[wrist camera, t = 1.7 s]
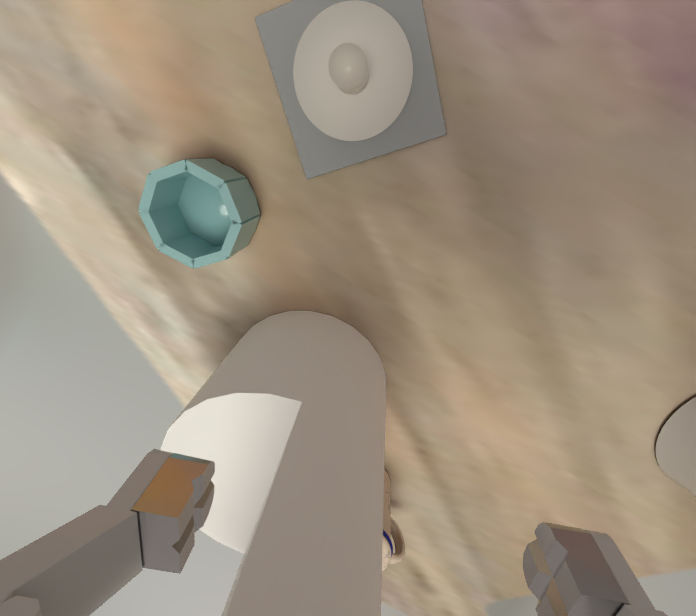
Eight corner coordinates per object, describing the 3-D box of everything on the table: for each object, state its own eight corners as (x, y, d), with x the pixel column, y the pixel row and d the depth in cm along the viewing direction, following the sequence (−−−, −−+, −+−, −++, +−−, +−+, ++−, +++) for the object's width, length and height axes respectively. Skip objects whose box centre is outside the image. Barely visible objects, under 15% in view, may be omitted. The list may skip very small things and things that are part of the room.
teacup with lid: (305, 480, 46) (279, 578, 36) (348, 438, 43) (334, 533, 32) (379, 527, 48) (375, 633, 38) (426, 491, 45) (436, 596, 34)
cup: (238, 149, 32) (212, 149, 27) (271, 238, 34) (253, 251, 30) (160, 177, 33) (123, 181, 29) (197, 259, 36) (169, 275, 32)
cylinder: (412, 345, 37) (457, 770, 12) (354, 462, 44) (303, 887, 19) (251, 285, 37) (-73, 597, 11) (218, 413, 44) (-29, 785, 18)
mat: (412, -49, 25) (412, -52, 25) (445, 134, 30) (446, 134, 29) (255, 18, 28) (254, 17, 28) (307, 179, 32) (306, 179, 32)
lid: (395, -17, 26) (396, -46, 22) (423, 120, 29) (429, 115, 25) (279, 33, 28) (261, 14, 24) (317, 156, 31) (307, 156, 27)
